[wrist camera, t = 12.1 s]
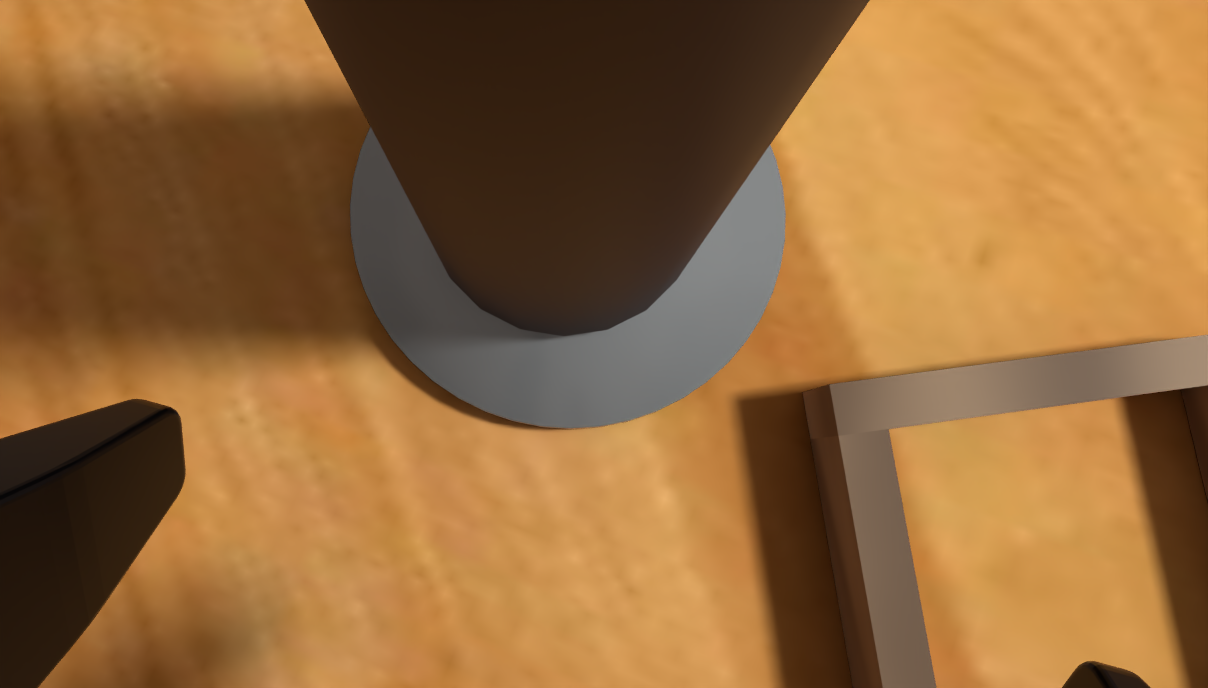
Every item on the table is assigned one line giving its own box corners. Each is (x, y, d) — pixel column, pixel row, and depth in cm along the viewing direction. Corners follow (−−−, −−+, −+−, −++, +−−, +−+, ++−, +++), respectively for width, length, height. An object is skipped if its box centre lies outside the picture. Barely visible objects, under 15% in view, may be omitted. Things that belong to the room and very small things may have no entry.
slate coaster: (376, 456, 20) (371, 456, 19) (337, 39, 21) (331, 27, 21) (810, 398, 21) (818, 396, 20) (743, 4, 22) (748, -9, 22)
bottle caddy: (883, 869, 19) (923, 915, 17) (802, 392, 21) (829, 384, 19) (1321, 786, 20) (1406, 821, 18) (1211, 338, 22) (1277, 325, 20)
